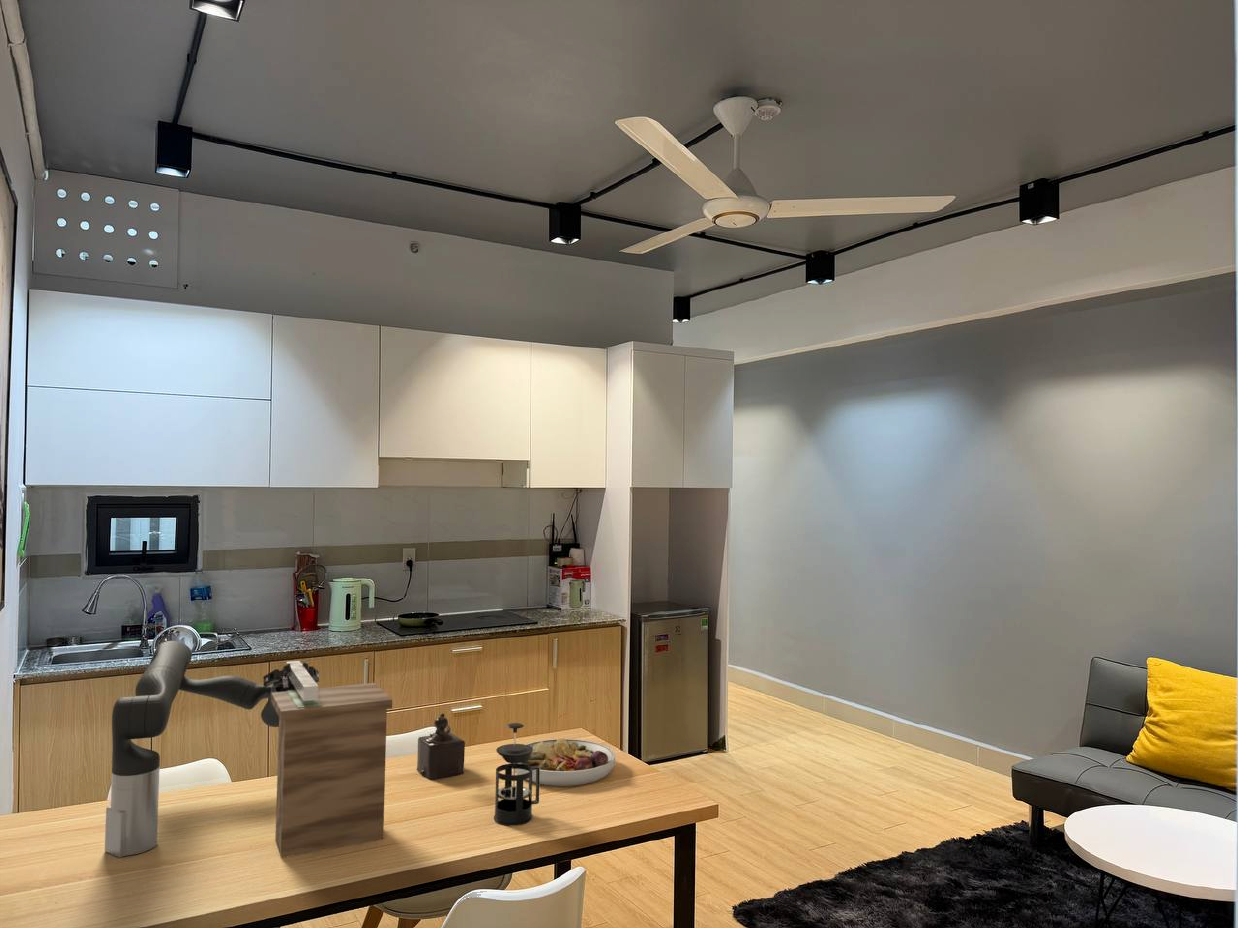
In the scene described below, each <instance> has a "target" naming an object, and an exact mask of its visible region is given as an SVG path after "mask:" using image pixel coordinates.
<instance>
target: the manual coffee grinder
mask: <svg viewBox="0 0 1238 928" xmlns="http://www.w3.org/2000/svg"><path fill="white" fill-rule="evenodd" d="M433 723H434V727H435V729H436V730H435V731H434V733H429V735H425V736H418V738H417V759H416V760H417V761H416V762H417V765H416V771H417V772H419V774H420V775H422V776H423V777H425V778H426V779H429V780H440V779H446V778H451V777H457V776H461V775H463V774H465V773H464V769H465V768H464V767H465V752H466V751H465V750H466V749H465V748H466V747H465V746H466V741H464V739H462V738H460V737H458V736H457V735H455V734H454V733H452V732H451V727H450V725H449V719H448V718H447V717H445V713H443V712H442V713H441V714H439V717H437V718H435V719H434V722H433ZM445 729H446V730H445Z"/></svg>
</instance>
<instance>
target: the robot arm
mask: <svg viewBox="0 0 1238 928" xmlns="http://www.w3.org/2000/svg"><path fill="white" fill-rule="evenodd" d="M192 657H193V652H192V650H191V648H190V647H189V646H188V645H187V644H185V643H183V642H181V641H178V640H167V641H164V642H161V643H160V644H158V646H157V647H156V648H155V650H154V653H153V655H152V657H151V659H150V662H149V663H148V666H147V668H146V669H145V671H144V672H143V674H142V675H141V677H140V678H139V680H138V682H137V683H136V685H135V691H134V692H135V695H134V696H123V697H120V698H117V700H116V701H115V702H114V705H113V708H112V713H111V730H112V731H111V734H112V735H111V736H112V740H111V741H112V751H111V753H112V754H111V755H112V757H111V758H112V760H111V785H110V786H111V787H110V788H111V789H110V806H107V807H106V810H105V830H104V831H105V832H104V833H105V834H104V836H105V837H104V852H106V853H107V854H111V855H113V856H115V857H117V858H122V857H126V856H134V855H137V854H141V853H145V852H148V851H149V850H151V849H153V848H154V847H155V846H157V844H158V823H159V822H158V821H159V799H160V798H159V794H160V792H159V791H160V771H161V770H160V764H161V763H160V762H161V761H160V760H161V757H160V754H159V752H157V751H155V750H153V749H148V748H146V747H142V746H140V745H137V744H136V743H134V742H133V741H132V740H139V739H152V738H156V737H159V736H161V735H162V734H163V733H164V731H165V730H166V729H167V726H168V721H169V719H170V714H171V709H172V705H173V703H174V701H175V699H176V697H177V695H178V692H179V691H181V692H187V693H190V694H195V695H200V696H205V697H207V698H208V697H209V698H214V699H217V700H220V701H224V702H226V703H229V704H231V705H235V706H237V707H239V708H243V709H244V710H252V709H254V708H255V707H256V706H257V705H258V704H259V703H260V702H261V701H262V700H264V699H268V700H266V701H267V702H266V703H265V704H264V707H263V709H262V710H261V713H260V717H261V720H262V722H263V723H264V724H265V725H267V726H268V727H271V728H279V716H278V714H277V712H276V710H275V708H274V706H273V704H272V702H271V693H275V692H285V691H287V690H296V688H295V687H294V685H293V684H292V682H291V681H290V679H289V677H288V676H289V674H290V667H291V666H290V664H287V663H286V665H284V666H283V667H282V668H281V670H280V669H279V668H275V669H274V670H272V671H270V672H269V673H267V674H266V675H264V676H263V677H262V679H263V684H261V683H258V682H257V683H256V682H254V681H251V680H248V679H245V678H243V677H240V676H236V675H222V676H216V677H210V678H203V679H194V678H190V677H186V676H185V675H186V672H187V670H188V668H189V665H190V663H191V661H192V659H193V658H192ZM301 664H302V665H303V666H304V668H305V669H306V670H307V672H308V673H309V674H310V676H311V677H312V678H313V680H314V681H315V682H316V683H318V682H320V671H318V669H317V668H315V667H314V666H309V663H306V662H304V661H303V662H301Z"/></svg>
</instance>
